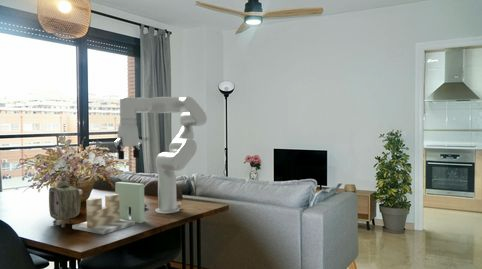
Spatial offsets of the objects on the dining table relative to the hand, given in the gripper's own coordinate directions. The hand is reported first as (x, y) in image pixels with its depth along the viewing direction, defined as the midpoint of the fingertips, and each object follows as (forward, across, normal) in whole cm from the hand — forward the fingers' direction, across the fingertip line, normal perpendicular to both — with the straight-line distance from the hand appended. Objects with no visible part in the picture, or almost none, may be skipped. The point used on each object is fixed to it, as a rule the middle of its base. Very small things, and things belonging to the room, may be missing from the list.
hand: (128, 158), depth 186 cm
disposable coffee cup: (+30, +2, -39) cm, 49 cm away
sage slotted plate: (+30, 0, 0) cm, 30 cm away
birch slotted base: (+30, +14, -2) cm, 33 cm away
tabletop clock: (+30, +20, -21) cm, 42 cm away
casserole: (+30, -14, -19) cm, 39 cm away
